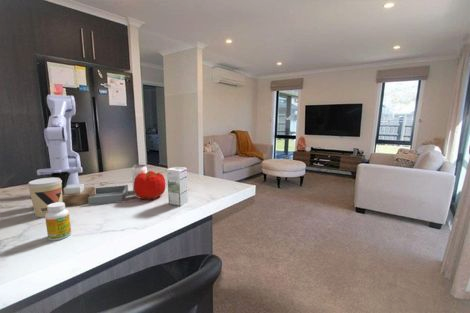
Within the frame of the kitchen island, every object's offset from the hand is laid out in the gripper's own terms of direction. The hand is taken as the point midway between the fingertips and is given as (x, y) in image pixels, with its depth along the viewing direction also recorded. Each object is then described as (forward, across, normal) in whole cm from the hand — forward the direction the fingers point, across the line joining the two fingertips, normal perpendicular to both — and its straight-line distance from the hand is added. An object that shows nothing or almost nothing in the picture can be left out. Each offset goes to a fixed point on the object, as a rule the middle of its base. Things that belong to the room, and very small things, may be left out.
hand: (63, 190), depth 93 cm
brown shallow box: (+5, +4, 0) cm, 6 cm away
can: (+5, +29, +6) cm, 30 cm away
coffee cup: (+5, -1, -11) cm, 12 cm away
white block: (+1, +4, 0) cm, 4 cm away
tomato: (+5, +33, -4) cm, 34 cm away
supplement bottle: (+5, +8, -32) cm, 33 cm away
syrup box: (+5, +44, -16) cm, 47 cm away
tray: (+5, +17, 0) cm, 17 cm away
